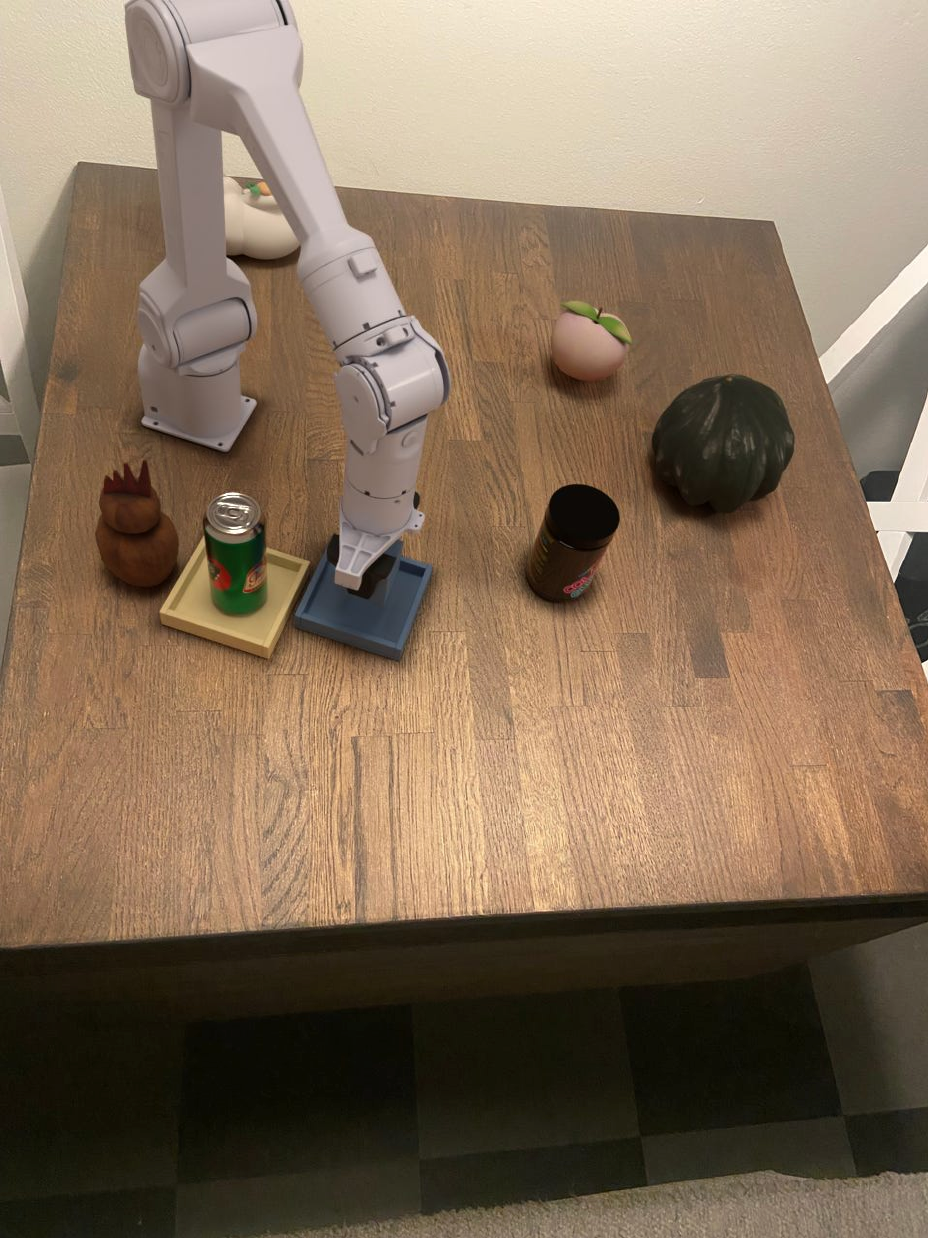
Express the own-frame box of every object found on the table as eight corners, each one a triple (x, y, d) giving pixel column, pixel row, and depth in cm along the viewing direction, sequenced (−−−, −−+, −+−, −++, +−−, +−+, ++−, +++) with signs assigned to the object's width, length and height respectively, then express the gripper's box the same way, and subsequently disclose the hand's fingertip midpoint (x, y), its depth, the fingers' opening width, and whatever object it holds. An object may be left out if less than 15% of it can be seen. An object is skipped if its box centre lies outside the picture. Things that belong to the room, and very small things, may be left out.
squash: (830, 467, 100) (801, 336, 93) (758, 540, 93) (720, 405, 86) (721, 467, 111) (687, 350, 104) (648, 532, 104) (607, 411, 97)
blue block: (336, 592, 83) (338, 562, 79) (353, 555, 86) (356, 525, 82) (383, 607, 83) (388, 579, 79) (398, 570, 85) (403, 540, 82)
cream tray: (161, 624, 82) (158, 611, 80) (209, 540, 88) (208, 527, 86) (268, 659, 82) (268, 647, 80) (309, 573, 88) (310, 561, 86)
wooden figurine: (193, 560, 86) (177, 449, 74) (162, 606, 83) (140, 498, 71) (127, 534, 87) (101, 420, 74) (94, 579, 83) (60, 468, 71)
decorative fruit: (529, 383, 107) (549, 314, 99) (551, 343, 112) (572, 274, 104) (603, 413, 107) (630, 346, 98) (622, 372, 111) (649, 304, 103)
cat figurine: (312, 179, 106) (178, 150, 102) (307, 247, 106) (171, 221, 102) (304, 216, 116) (180, 191, 112) (298, 278, 115) (174, 255, 111)
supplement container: (547, 614, 90) (575, 550, 81) (511, 563, 92) (534, 496, 84) (601, 591, 92) (634, 526, 84) (565, 542, 95) (593, 475, 86)
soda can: (257, 624, 83) (253, 543, 73) (203, 610, 83) (192, 527, 73) (274, 581, 86) (273, 497, 76) (222, 567, 86) (214, 482, 76)
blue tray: (293, 627, 84) (294, 615, 83) (332, 545, 90) (333, 533, 88) (399, 661, 84) (401, 650, 82) (430, 577, 90) (433, 565, 88)
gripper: (401, 555, 68) (385, 649, 79) (454, 425, 76) (433, 528, 87) (311, 525, 68) (307, 624, 79) (374, 399, 76) (362, 505, 87)
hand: (368, 572), depth 83 cm, fingers closed on blue block, 4 cm apart
